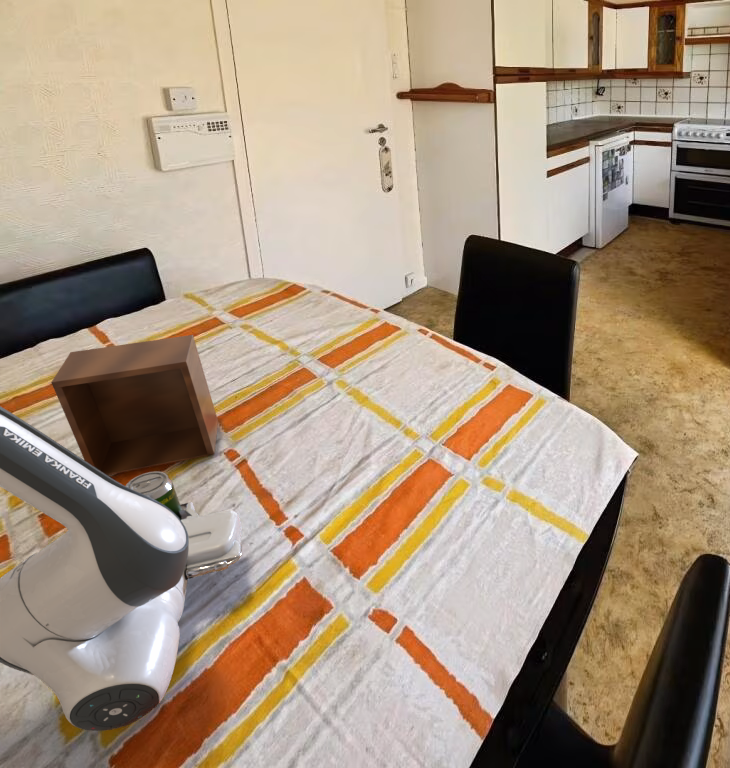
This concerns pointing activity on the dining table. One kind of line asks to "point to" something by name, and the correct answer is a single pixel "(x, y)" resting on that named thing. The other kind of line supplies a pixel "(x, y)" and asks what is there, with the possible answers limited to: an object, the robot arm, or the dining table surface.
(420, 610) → the dining table surface
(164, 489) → the beer can
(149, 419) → the cupboard
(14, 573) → the robot arm
